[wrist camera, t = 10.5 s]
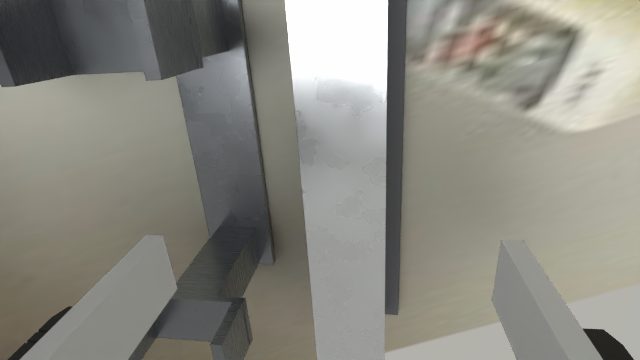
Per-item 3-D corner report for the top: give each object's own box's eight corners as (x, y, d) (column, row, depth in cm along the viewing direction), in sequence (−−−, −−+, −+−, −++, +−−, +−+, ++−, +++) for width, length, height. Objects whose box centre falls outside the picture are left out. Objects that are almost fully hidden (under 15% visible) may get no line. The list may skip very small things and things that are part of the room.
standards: (208, 257, 32) (118, 383, 21) (151, -4, 24) (-42, -19, 13) (285, 260, 31) (233, 395, 20) (253, -12, 23) (136, -37, 12)
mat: (321, 305, 32) (320, 310, 31) (293, -65, 21) (290, -67, 21) (397, 309, 31) (398, 314, 30) (408, -78, 20) (408, -80, 20)
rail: (328, 306, 31) (317, 367, 26) (304, -58, 21) (277, -83, 15) (383, 309, 30) (384, 373, 25) (386, -67, 20) (388, -96, 15)
